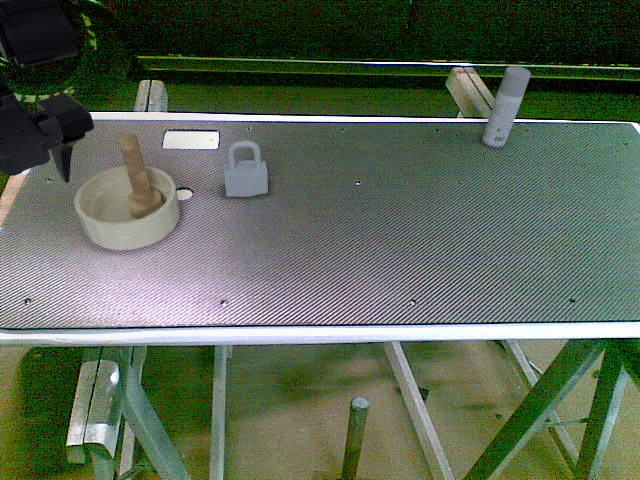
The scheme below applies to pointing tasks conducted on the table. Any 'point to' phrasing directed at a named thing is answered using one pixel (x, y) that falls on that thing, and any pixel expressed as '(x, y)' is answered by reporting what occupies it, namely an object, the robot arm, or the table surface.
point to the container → (506, 106)
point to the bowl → (125, 210)
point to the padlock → (245, 172)
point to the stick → (138, 179)
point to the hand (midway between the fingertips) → (29, 196)
